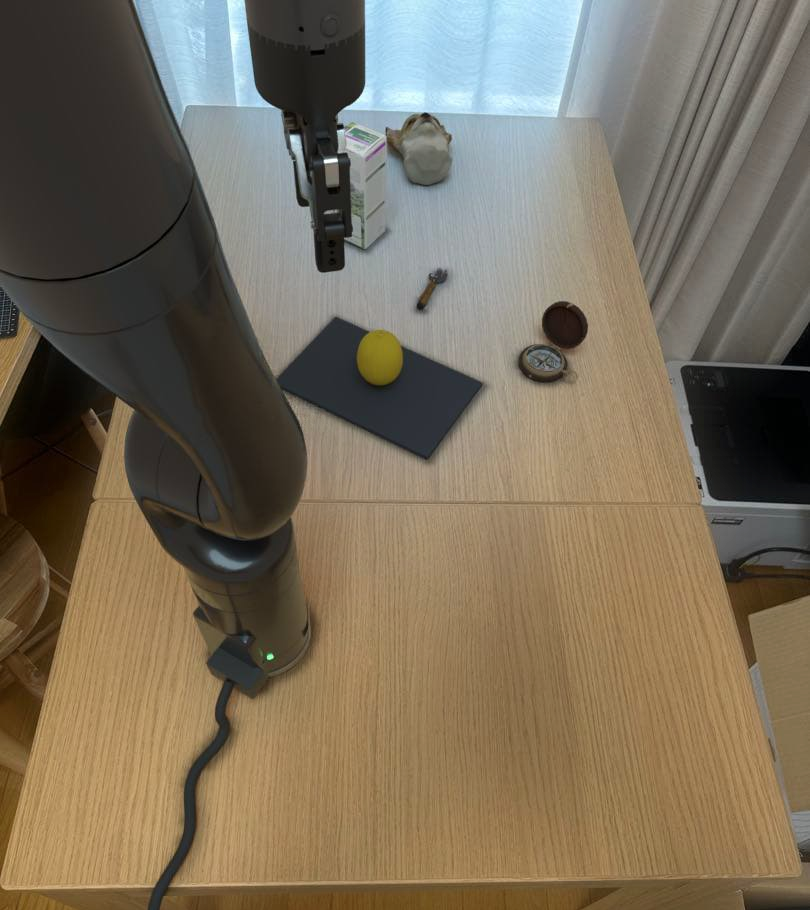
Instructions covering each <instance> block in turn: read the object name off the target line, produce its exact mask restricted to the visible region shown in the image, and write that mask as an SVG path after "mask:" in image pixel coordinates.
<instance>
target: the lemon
mask: <svg viewBox="0 0 810 910" xmlns="http://www.w3.org/2000/svg"><path fill="white" fill-rule="evenodd" d="M401 346H402V345H401V342H400V341H399V339H398V338H397V337H396V335H395V334H394V333H392V332H390V331H389V330H387V329H386V330H385V329H374V330H371V331H369V333H368V334H367V335H365V336H364V337H363V339H362V340H361V342H360V344H359V348H358V352H357V364H358V369H359V371H360V373H361V375H362V376H363V378H364V379H365V380H366V381H368V382H369V383H371V384H374V385H386V384H389V383H391V382H392V381H394V380H395V379H396V378H397V376H398V375H399V373H400V371H401V368H402V365H403V352H402V348H401Z"/></svg>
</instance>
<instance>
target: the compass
mask: <svg viewBox="0 0 810 910" xmlns="http://www.w3.org/2000/svg"><path fill="white" fill-rule="evenodd" d="M541 326H542V330H543V331H542V332H543V334H544V335H545V337H546V338H547V339H548V341H549V342H550V343H551V345H549V344H545V343H536V344H532V345H528V346H526V347H525V348H524V349H523V350H522V351H521V353H520V356H519V358H518V366H519V367H520V370H521V371H522V373H523V374H524V375H526V376H527V377H528V378H530V379H532V380H534V381H537V382H553V381H556V380H557V381H558V380H559V379H560V378H562V377H563V378H564V379H565V381H568V382H575V381H576V380H578V378H579V376H578V373H577V372H576V371H574V370H572V369H567V368H568V360H567V357H566V355H565V354H564V353H563V352H562V351H561V349H564V350H570V349H575V348H577V347H578V346H580V345H581V344H582V343H583V341H584V340H585V339H586V338H587V335H588V332H589V324H588V320H587V317H586V315H585V314H584V312H583V310H581V308H580V307H579V306H577V305H576V304H574V303H573V302H570V301H566V300H559V301H556V302H553V303H552V304H550V305H549V306H548V307H547V308H546V309H545V311H544V312H543V315H542V317H541ZM570 372H572V373H574V374H575V376H576V377H575V378H574V379H569V378H567V377H568V375H569V373H570Z"/></svg>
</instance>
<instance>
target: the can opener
mask: <svg viewBox="0 0 810 910" xmlns="http://www.w3.org/2000/svg"><path fill="white" fill-rule="evenodd" d="M442 271H443V268H441V267H438V268H437V270H436V272H435V274H434V276H432V275H433V273H432V272H430V273H429V274H428V275H427V277H428V279H429V280H430V281H429V282H428V284H427V285H426V287H425V289H424V290H423V292H422V293H421V295H420V297H419V298H418V300H417V302H416V308H417V309H418V310H423V309H424V308H425V306H426V305H427V304H428V302H429V300H430V297H431V295H432V293H433V291H434V290H435V288H436V285H437V283H444V282H445V281H446V280H447V278H448V274H449V273H448V270H447V269H445V270H444V272H442Z"/></svg>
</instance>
